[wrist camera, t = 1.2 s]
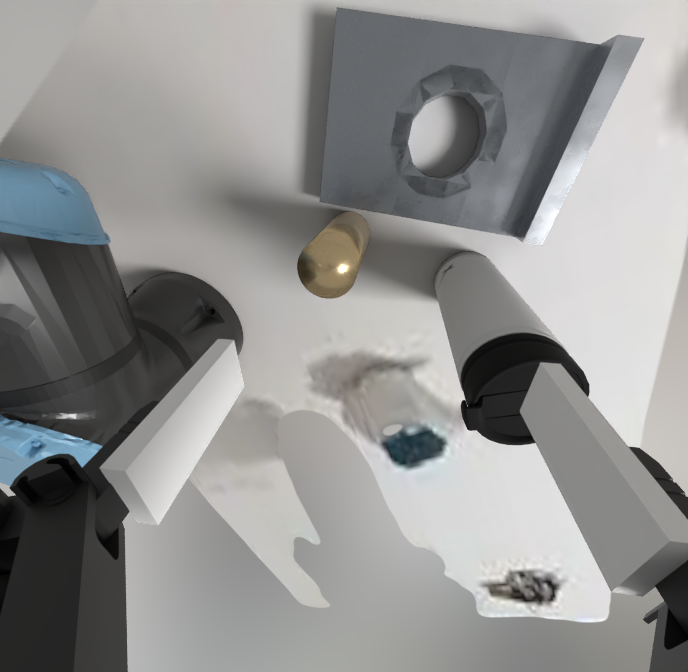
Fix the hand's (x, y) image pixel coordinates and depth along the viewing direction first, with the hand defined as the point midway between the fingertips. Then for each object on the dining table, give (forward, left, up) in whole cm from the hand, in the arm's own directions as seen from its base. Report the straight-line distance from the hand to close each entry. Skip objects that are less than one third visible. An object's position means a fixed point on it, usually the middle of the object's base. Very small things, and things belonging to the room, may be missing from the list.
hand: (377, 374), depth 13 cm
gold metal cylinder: (-5, +1, -22) cm, 23 cm away
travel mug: (+8, -2, -22) cm, 24 cm away
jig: (+2, +10, -22) cm, 24 cm away
